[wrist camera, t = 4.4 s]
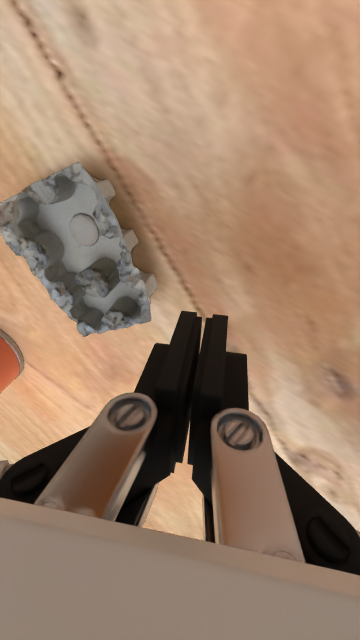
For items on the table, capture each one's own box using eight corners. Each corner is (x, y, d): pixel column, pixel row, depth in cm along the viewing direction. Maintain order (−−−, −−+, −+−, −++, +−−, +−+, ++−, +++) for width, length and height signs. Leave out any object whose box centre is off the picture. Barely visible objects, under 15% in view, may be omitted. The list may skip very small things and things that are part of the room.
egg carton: (21, 194, 21) (-25, 202, 17) (111, 154, 18) (78, 153, 15) (89, 322, 25) (64, 349, 21) (169, 303, 23) (155, 330, 19)
